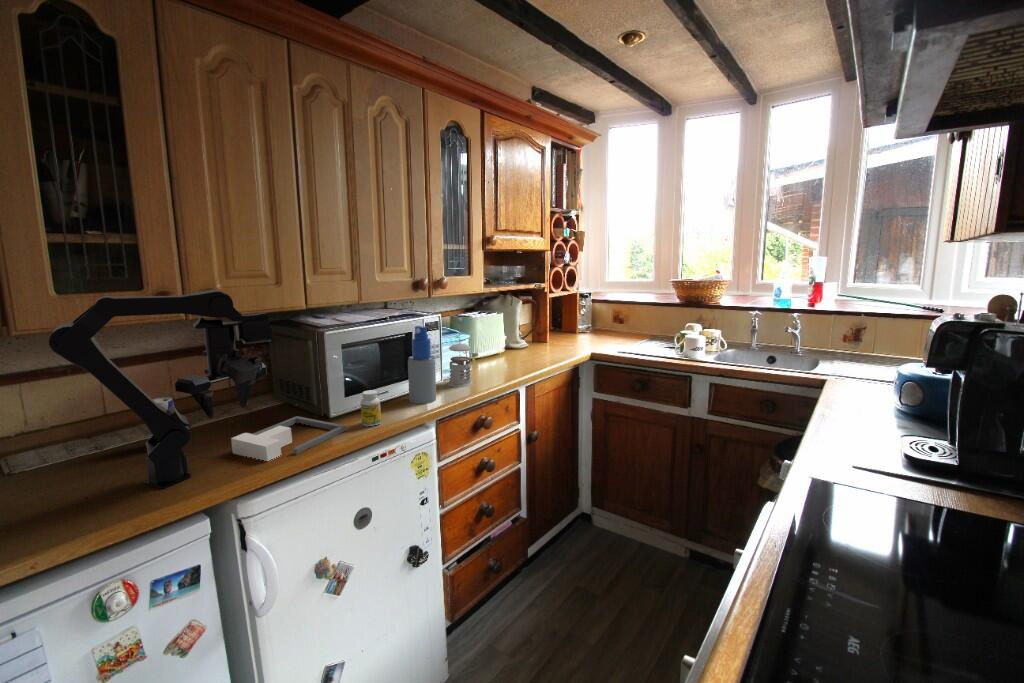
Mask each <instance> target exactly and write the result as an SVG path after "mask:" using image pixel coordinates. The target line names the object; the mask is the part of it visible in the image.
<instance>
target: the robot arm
mask: <svg viewBox="0 0 1024 683" xmlns="http://www.w3.org/2000/svg"><path fill="white" fill-rule="evenodd" d="M175 314H176V315H179V314H181V315H182V314H185V315H192V316H198V317H199V318H198V319H197V321H195V322H194V323H193V324H192V327H193V328H195V329H196V330H199V329H203V332H204V333H203V334H204V342H205V343H204V344H205V350H202V356H203V357H206V359H207V360H206V361H207V368H204V369H203V370H204V374H205V376H204V375H197V374H191V375H186V376H182V377H178V378H177V379H176V381H175V382H174V387H175V388H174V389H175V392H177V393H185V394H189V395H191V397H192V398H193V399H194V400H195V401H196V402H197V404H198V405H199V406H200V409H202V411H203V413H204V414H205V415H206V417H208V418H209V419H214V407H213V395H214V393H215V390H214V389H210V388H211V387H212V384H215V383H219V382H223V381H224V382H225V381H227V380H232V381H233V382H234V386H235V390H236V394H237V399H238V403H239V406H240V407H241V408H246V407H247V402H248V400H249V396H250V393H251V390H252V387H253V385H254V384H255V383H256V382H257V381H259V380H261V378H262V377H261V376H264V375H267V374H268V373H267V366H266V364H265V363H264V362H263V361H262V357H260V356H258V355H255V356H251V357H249V358H243V357H242V352H241V350H240V349H237V348H236V340H235V339H237V341H241V342H242V343H243V344H244V345H245V344H246V345H248V344H256V343H264V342H265V343H267V342H271V341H272V339H273V330H272V327H271V324H270V320H269V316H268V313H266V312H259V313H255V314H254V313H253V314H242V312H240V311H238V309H236V308H235V307H234V301H233V299H232V297H231V296H230V295H229V294H227V293H225V292H223V291H222V290H218V289H208V290H201V291H196V292H190V293H186V294H181V295H147V296H146V295H144V296H141V295H138V296H111V295H103V296H100V297H98V298H97V299H96V301H95V302H94V304H92V305H91V306H90V307H89V308H87V309H86V310H85V311H84V312H82V313H81V314H80V315H79V316H78V317H76V318H75V319H74V320H73V321H71V322H64V323H62V324H60V325H58V326H57V327H56V328H54V330H53V331H52V333H51V334H50V336H49V340H48V346H49V347H50V349H51V350H52V351H53V352H54V353H55V354H56V355H58V356H60V357H62V358H63V359H65V360H66V361H68V362H69V363H71V364H73V365H74V366H77V367H79V368H80V369H84V370H85V371H86V372H89V374H91V375H92V376H93V377H94V378H95V379H97V381H98V382H100V383H101V384H102V385H103V386H104V387H105V388H106V389H107V390H108V391H110V392H111V393H112V394H113V395H114V396H116V397H117V398H118V399H119V401H120V402H122V403H123V404H125V405H126V407H127V408H129V409H130V410H131V411H132V412H133V413H135V415H136V416H138V418H140V419H141V420H142V421H143V422H144V424H145V425H146V427H147V429H148V430H149V432H150V433H151V436H150V437H149V438H148V440H147V441H146V442H145V446H146V450H147V456H145V458H144V460H145V467H146V473H147V479H145V480H143V483H144V484H145V485H148V486H152V487H155V488H158V489H161V490H162V489H166V488H169V487H170V486H172V485H175V484H177V483H180V482H182V481H184V480H186V479H189V478H191V477H192V475H193V474H192V473H190V472H189V465H188V464H189V463H188V457H187V454H185V451H184V449H183V447H185V446H186V445H188V443H189V441H190V439H191V434H192V433H191V431H190V428H189V426H190V424H189V421H188V418H187V417H186V416H185V415H183V414H181V413H180V412H179V411H178V410H177V409H176V407H175V405H174V406H173V405H172V406H171V407H170V408H169V409H168V410H167V409H165V408H163V407H161V406H160V405H158V404H157V403H156V402H155V401H154V400H153V398H152V397H151V396H150V395H149V394H147V393H146V392H145V391H144V390H143V388H141V387H140V386H139V385H138V384H137V383H136V382H134V380H133V379H131V378H130V377H129V376H128V375H127V374H126V373H125V372H124V371H123V370H122V369H120V367H119V366H117V365H116V364H115V362H114V361H112V360H111V359H110V358H109V357H108V356H107V354H106V353H105V352H104V350H103V348H102V346H101V345H100V344H99V342H98V341H97V339H96V338H95V337H94V336H95V335H96V334H97V333H98V332H100V330H102V329H103V328H104V327H105V326H106V324H108V323H109V322H110V321H111V320H112V319H113V318H115V317H129V316H130V317H133V316H156V315H157V316H158V315H175ZM205 317H206V318H209V319H206V318H205ZM210 318H213V319H210ZM222 318H226V319H228V320H230V321H223V319H222ZM234 327H235V328H234ZM235 334H236V338H235Z"/></svg>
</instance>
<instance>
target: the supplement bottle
mask: <svg viewBox="0 0 1024 683" xmlns="http://www.w3.org/2000/svg"><path fill="white" fill-rule="evenodd" d="M362 397H363V398H362V399H361V400H360V408H361V409H360V411H361V424H362V426H364V427H368V426H372V427H375V426H374V425H377V426H379V425H380V424H381V423H382V415H381V400H380V398H379V397H378V392H377V390H376V389H375V390H373V389H372V390H371V389H370V390H364V391H362ZM378 424H379V425H378Z"/></svg>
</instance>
